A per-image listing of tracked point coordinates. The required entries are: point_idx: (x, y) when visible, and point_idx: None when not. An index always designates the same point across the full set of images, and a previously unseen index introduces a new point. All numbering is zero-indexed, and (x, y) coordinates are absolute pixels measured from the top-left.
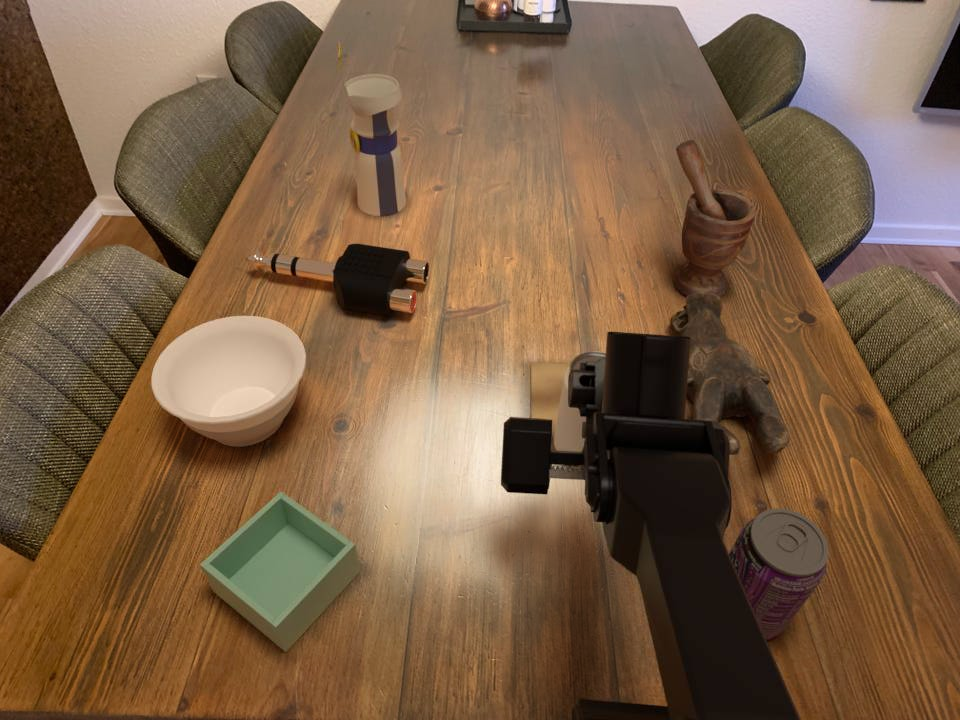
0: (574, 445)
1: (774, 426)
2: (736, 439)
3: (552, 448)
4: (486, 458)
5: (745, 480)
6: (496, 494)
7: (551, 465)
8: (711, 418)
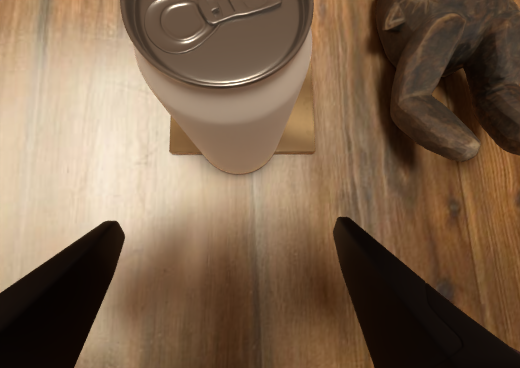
0: (213, 161)
1: None
2: (478, 140)
3: (50, 324)
4: (112, 161)
5: (439, 171)
6: (123, 217)
7: (71, 351)
8: (425, 90)
